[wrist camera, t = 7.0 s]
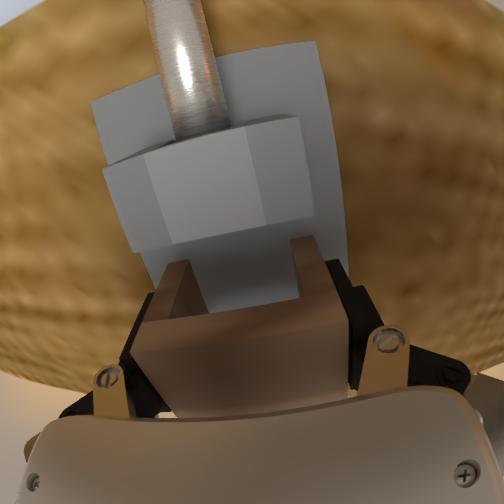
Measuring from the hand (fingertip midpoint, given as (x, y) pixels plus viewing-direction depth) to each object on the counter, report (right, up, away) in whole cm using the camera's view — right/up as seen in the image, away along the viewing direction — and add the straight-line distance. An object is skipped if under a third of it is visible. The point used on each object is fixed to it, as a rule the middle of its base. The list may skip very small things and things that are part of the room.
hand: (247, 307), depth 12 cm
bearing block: (0, +2, +3) cm, 3 cm away
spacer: (0, +1, +1) cm, 1 cm away
